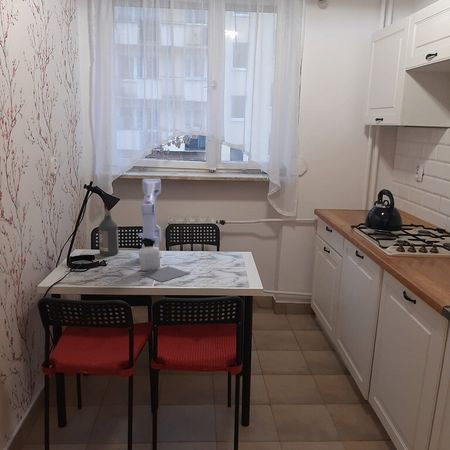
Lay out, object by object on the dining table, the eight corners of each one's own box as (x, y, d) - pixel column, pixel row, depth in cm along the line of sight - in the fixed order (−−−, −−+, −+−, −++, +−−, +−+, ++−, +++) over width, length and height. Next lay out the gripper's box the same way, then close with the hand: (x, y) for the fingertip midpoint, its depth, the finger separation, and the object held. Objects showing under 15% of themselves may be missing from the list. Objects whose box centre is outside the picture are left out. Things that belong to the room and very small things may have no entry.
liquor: (112, 250, 259) (111, 200, 253) (120, 254, 253) (118, 202, 246) (98, 253, 254) (96, 201, 247) (105, 256, 247) (103, 204, 241)
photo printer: (160, 264, 229) (158, 244, 223) (160, 269, 226) (158, 248, 219) (140, 266, 228) (138, 245, 222) (140, 270, 224) (137, 250, 218)
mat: (140, 274, 218) (140, 273, 218) (168, 266, 231) (168, 266, 231) (161, 282, 208) (161, 281, 208) (189, 273, 221) (189, 272, 221)
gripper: (133, 225, 225) (133, 251, 228) (151, 230, 215) (151, 257, 218) (144, 223, 230) (144, 249, 233) (162, 228, 221) (162, 254, 223)
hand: (148, 252), depth 226 cm, fingers closed
